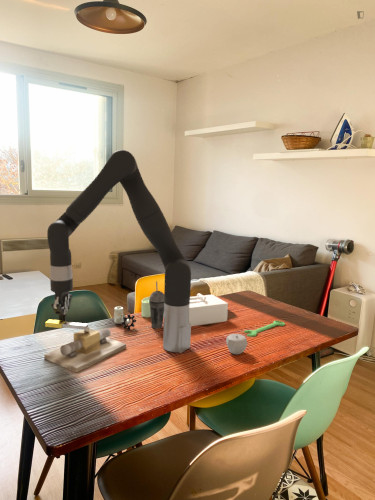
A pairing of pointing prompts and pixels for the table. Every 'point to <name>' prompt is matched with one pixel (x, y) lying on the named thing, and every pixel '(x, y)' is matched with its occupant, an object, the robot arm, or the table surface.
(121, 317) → the valve
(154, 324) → the beverage cup
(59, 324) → the valve lever
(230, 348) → the apple
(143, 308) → the candle
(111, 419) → the table surface
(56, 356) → the pipe board
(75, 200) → the robot arm
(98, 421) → the table surface
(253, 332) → the wrench
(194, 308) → the tissue box
